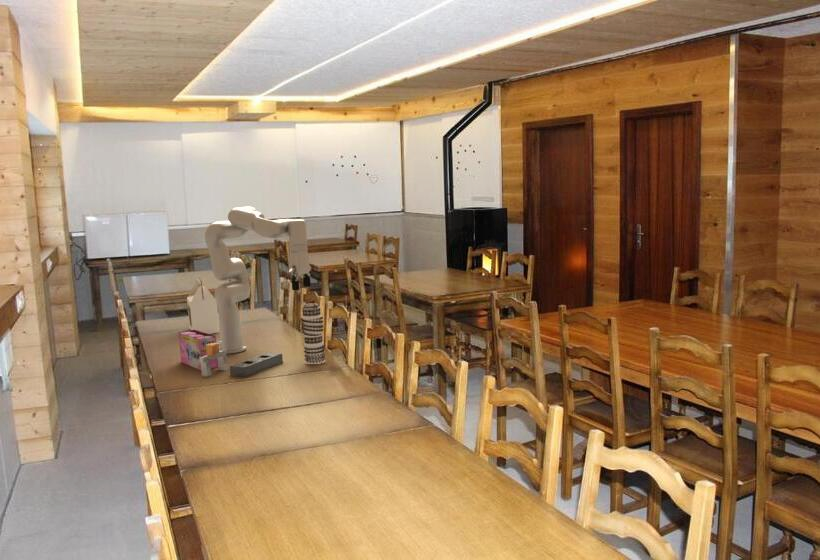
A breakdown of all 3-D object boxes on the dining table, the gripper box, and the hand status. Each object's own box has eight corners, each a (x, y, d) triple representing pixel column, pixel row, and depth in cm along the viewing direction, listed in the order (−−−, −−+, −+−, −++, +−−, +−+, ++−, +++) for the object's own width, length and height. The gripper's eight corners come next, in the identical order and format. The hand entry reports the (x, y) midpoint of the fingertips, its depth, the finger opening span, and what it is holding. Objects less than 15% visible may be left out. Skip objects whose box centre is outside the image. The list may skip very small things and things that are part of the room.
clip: (199, 376, 303) (197, 347, 302) (223, 368, 316) (220, 340, 314) (205, 377, 302) (203, 348, 300) (229, 368, 314) (226, 340, 313)
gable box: (189, 328, 408) (184, 277, 405) (214, 325, 413) (209, 275, 409) (193, 336, 388) (188, 282, 384) (219, 332, 392) (214, 279, 389)
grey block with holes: (230, 375, 302) (229, 366, 302) (267, 361, 323) (267, 352, 323) (245, 377, 299) (245, 367, 298) (282, 362, 320) (282, 353, 319)
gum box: (179, 362, 332) (176, 331, 330) (196, 358, 337) (193, 328, 335) (201, 370, 313) (198, 339, 312) (219, 367, 318) (216, 335, 316)
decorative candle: (322, 365, 311) (318, 305, 308) (301, 365, 313) (296, 306, 310) (329, 359, 320) (324, 301, 317) (308, 359, 322) (304, 302, 318)
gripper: (301, 246, 328) (304, 285, 331) (280, 251, 313) (283, 291, 315) (316, 246, 326) (319, 285, 328) (295, 250, 310) (299, 291, 312)
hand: (301, 288), depth 321 cm, fingers open, 9 cm apart
